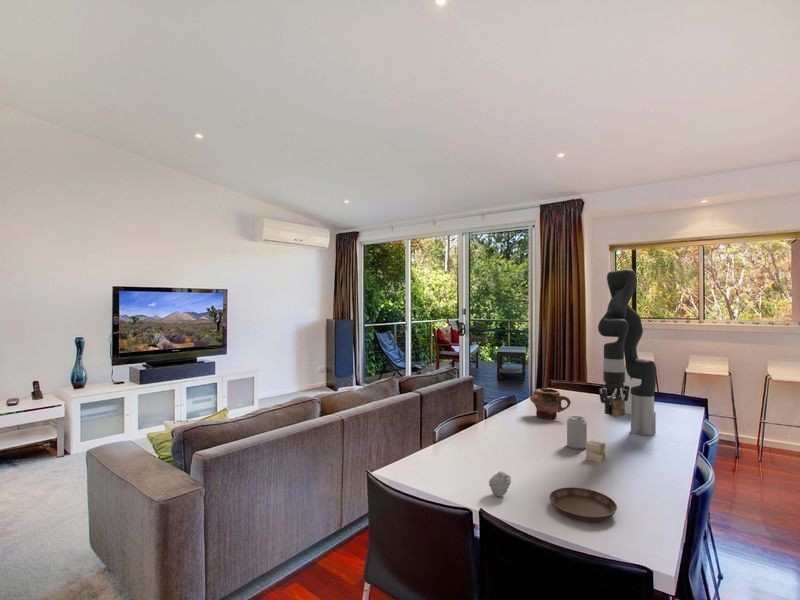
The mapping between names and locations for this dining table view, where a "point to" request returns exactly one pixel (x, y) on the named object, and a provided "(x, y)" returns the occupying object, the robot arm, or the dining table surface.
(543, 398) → the clay jug
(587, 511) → the plant saucer
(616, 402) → the walnut block
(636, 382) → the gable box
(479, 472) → the dining table surface
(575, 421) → the can
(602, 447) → the maple block
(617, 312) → the robot arm
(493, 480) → the grey lumpy rounded piece
